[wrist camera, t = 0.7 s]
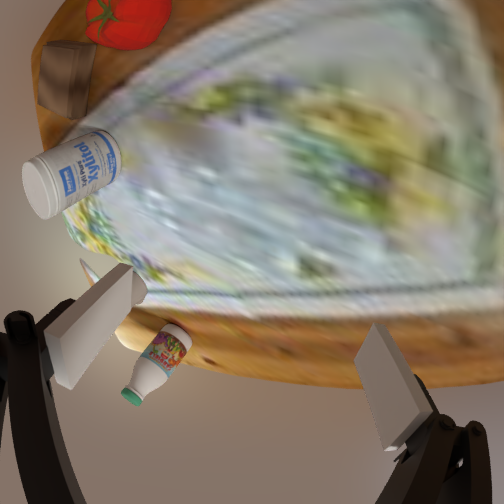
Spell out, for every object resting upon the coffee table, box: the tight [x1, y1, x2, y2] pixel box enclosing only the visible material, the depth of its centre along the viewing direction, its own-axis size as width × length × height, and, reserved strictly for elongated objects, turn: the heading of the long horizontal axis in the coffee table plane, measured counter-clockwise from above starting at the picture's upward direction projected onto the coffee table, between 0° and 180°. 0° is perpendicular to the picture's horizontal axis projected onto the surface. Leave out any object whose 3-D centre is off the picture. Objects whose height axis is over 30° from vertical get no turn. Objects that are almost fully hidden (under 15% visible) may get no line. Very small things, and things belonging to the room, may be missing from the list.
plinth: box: [37, 40, 97, 120], centre depth 33 cm, size 13×13×4 cm
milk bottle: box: [121, 324, 192, 406], centre depth 55 cm, size 8×8×20 cm
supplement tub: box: [22, 131, 121, 220], centre depth 36 cm, size 10×10×15 cm
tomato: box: [85, 0, 172, 50], centre depth 22 cm, size 11×11×9 cm
